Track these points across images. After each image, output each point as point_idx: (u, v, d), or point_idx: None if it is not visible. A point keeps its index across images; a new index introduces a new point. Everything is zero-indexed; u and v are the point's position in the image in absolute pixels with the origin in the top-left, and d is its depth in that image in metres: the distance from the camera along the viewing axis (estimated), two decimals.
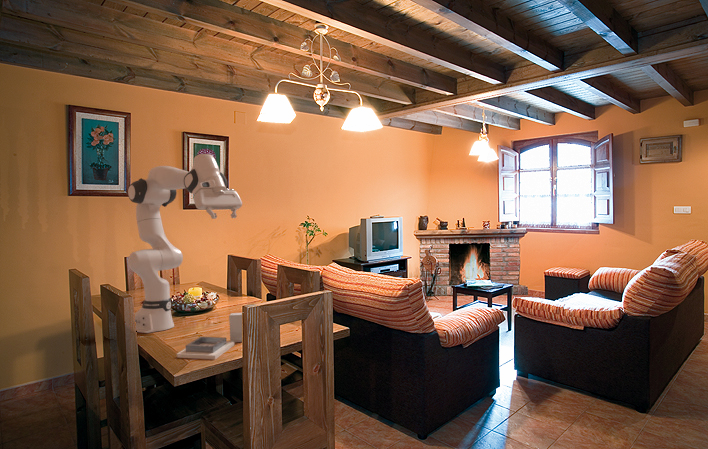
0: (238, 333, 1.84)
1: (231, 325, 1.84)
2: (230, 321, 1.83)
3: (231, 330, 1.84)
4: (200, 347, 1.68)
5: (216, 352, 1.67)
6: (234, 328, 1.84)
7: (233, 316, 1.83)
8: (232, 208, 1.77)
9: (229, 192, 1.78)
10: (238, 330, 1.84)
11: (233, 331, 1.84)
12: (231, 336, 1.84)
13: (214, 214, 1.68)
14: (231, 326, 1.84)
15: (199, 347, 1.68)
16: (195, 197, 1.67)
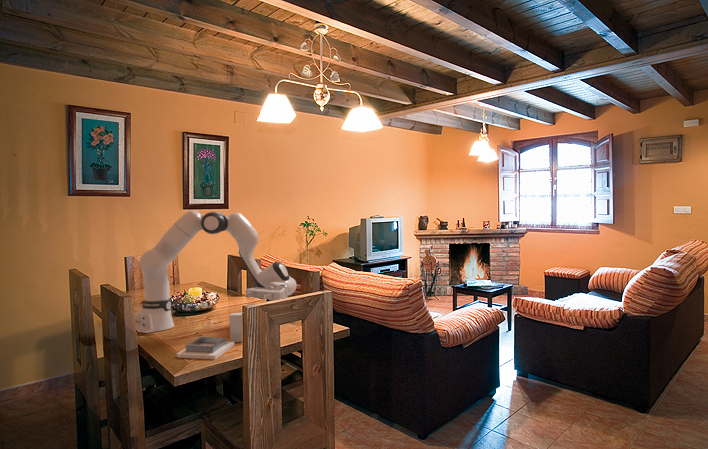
0: (238, 333, 1.84)
1: (231, 325, 1.84)
2: (230, 321, 1.83)
3: (231, 330, 1.84)
4: (200, 347, 1.68)
5: (216, 352, 1.67)
6: (234, 328, 1.84)
7: (233, 316, 1.83)
8: (251, 294, 2.02)
9: None
10: (238, 330, 1.84)
11: (233, 331, 1.84)
12: (231, 336, 1.84)
13: None
14: (231, 326, 1.84)
15: (199, 347, 1.68)
16: (284, 293, 2.00)
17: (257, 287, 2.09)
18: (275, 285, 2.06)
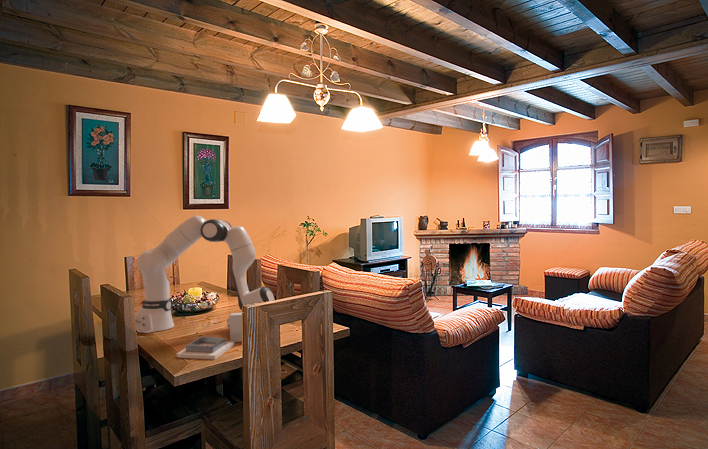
0: (238, 333, 1.84)
1: (231, 325, 1.84)
2: (230, 321, 1.83)
3: (231, 330, 1.84)
4: (200, 347, 1.68)
5: (216, 352, 1.67)
6: (234, 328, 1.84)
7: (233, 316, 1.83)
8: None
9: None
10: (238, 330, 1.84)
11: (233, 331, 1.84)
12: (231, 336, 1.84)
13: None
14: (231, 326, 1.84)
15: (199, 347, 1.68)
16: None
17: None
18: None
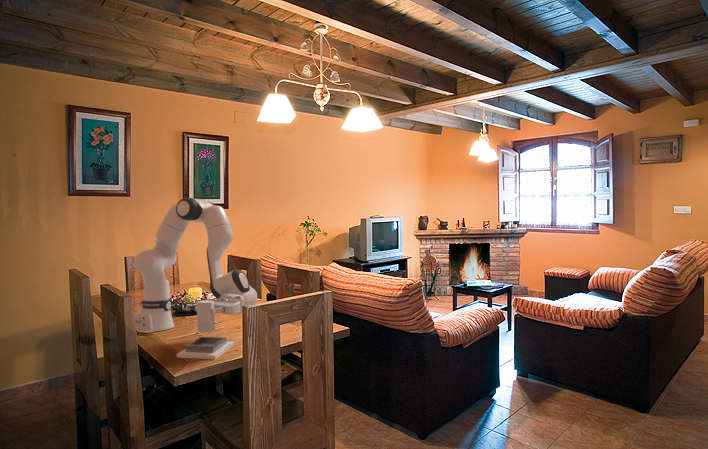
0: (206, 322, 1.71)
1: (199, 313, 1.71)
2: (197, 309, 1.71)
3: (198, 319, 1.71)
4: (200, 347, 1.68)
5: (216, 352, 1.67)
6: (202, 316, 1.71)
7: (201, 304, 1.71)
8: None
9: None
10: (206, 319, 1.71)
11: (200, 320, 1.71)
12: (198, 325, 1.71)
13: None
14: (198, 314, 1.71)
15: (199, 347, 1.68)
16: (238, 306, 1.76)
17: (210, 299, 1.85)
18: (230, 297, 1.82)
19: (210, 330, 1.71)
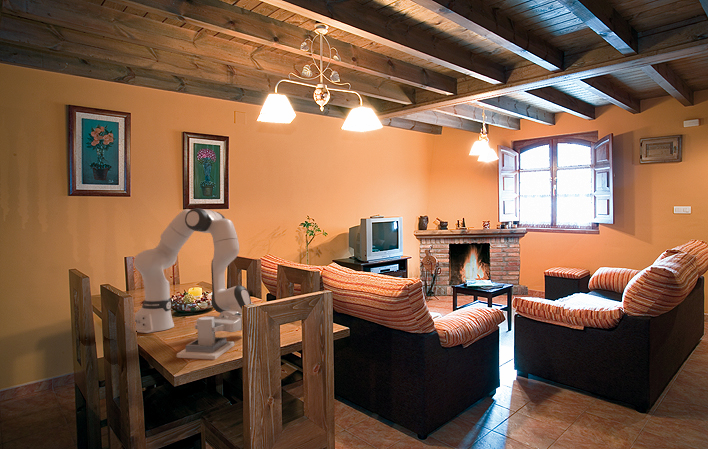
0: (206, 339, 1.71)
1: (199, 330, 1.71)
2: (198, 326, 1.71)
3: (199, 336, 1.71)
4: (200, 347, 1.68)
5: (216, 352, 1.67)
6: (203, 333, 1.71)
7: (201, 321, 1.71)
8: None
9: None
10: (207, 336, 1.71)
11: (201, 337, 1.71)
12: (199, 342, 1.71)
13: None
14: (199, 331, 1.71)
15: (199, 347, 1.68)
16: (239, 323, 1.77)
17: None
18: (230, 314, 1.82)
19: None
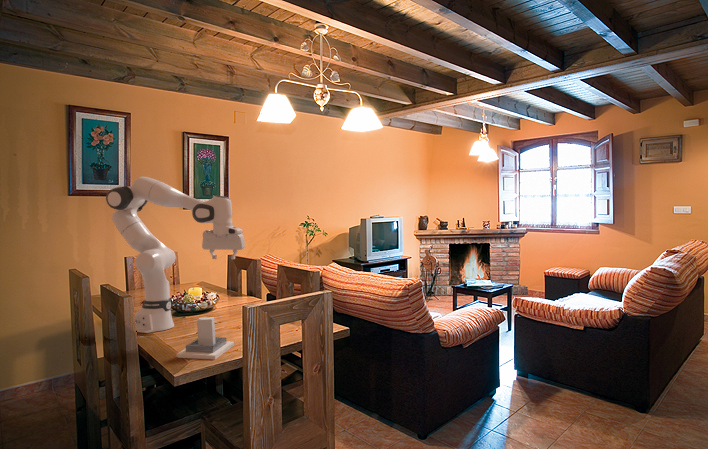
0: (206, 339, 1.71)
1: (199, 330, 1.71)
2: (198, 326, 1.71)
3: (199, 336, 1.71)
4: (200, 347, 1.68)
5: (216, 352, 1.67)
6: (203, 333, 1.71)
7: (201, 321, 1.71)
8: (213, 250, 2.03)
9: None
10: (207, 336, 1.71)
11: (201, 337, 1.71)
12: (199, 342, 1.71)
13: None
14: (199, 331, 1.71)
15: (199, 347, 1.68)
16: (241, 238, 1.99)
17: (206, 236, 2.01)
18: (225, 233, 1.98)
19: None
